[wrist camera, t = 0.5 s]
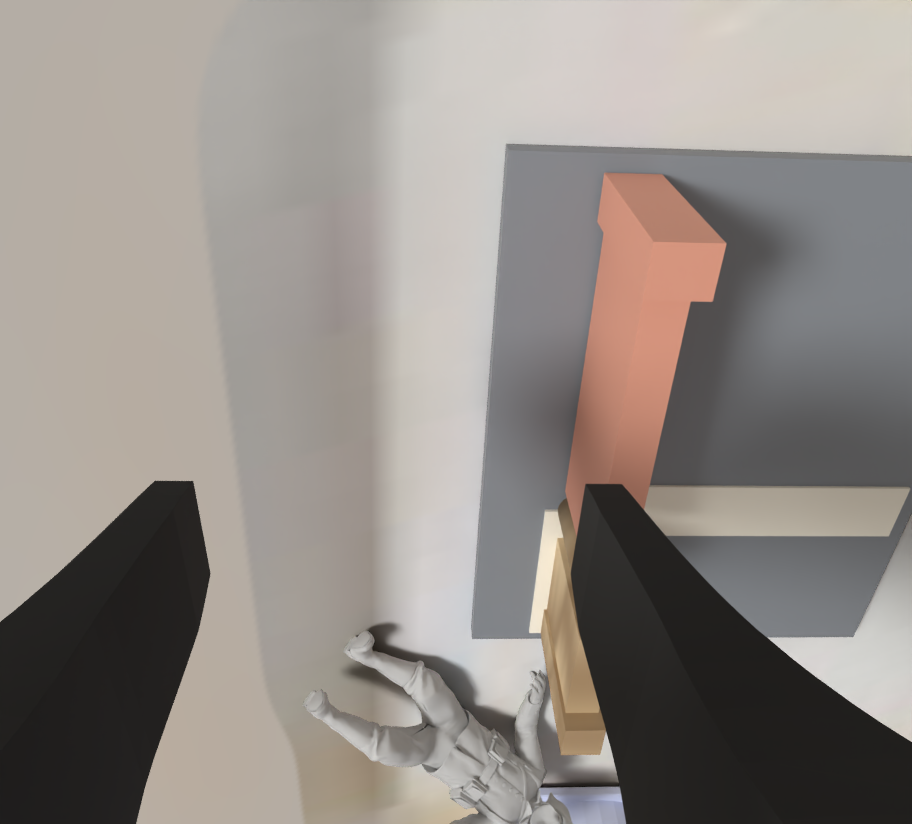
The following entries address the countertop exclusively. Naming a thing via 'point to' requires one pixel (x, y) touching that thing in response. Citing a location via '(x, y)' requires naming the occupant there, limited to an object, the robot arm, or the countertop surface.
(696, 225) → the fence panel
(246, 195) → the countertop surface
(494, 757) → the soldier figure
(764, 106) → the countertop surface
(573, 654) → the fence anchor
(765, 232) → the board
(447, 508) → the countertop surface
